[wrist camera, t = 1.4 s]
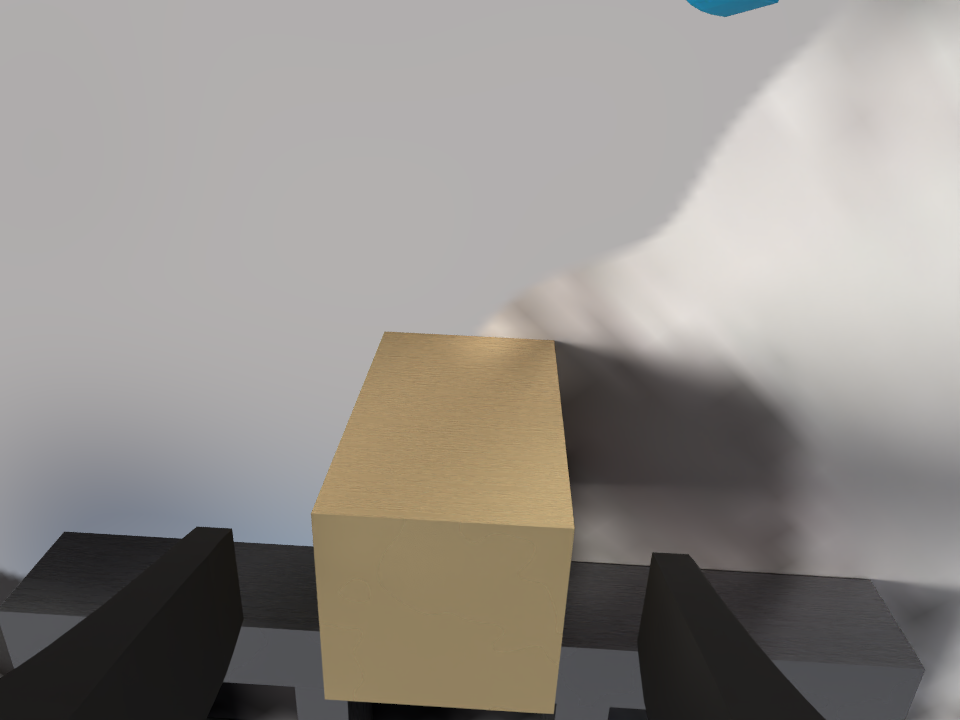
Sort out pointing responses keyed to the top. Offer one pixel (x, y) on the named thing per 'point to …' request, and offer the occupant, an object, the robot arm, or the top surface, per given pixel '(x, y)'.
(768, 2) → the gear
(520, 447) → the tan rectangular block
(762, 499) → the top surface
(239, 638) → the grey compartment tray
